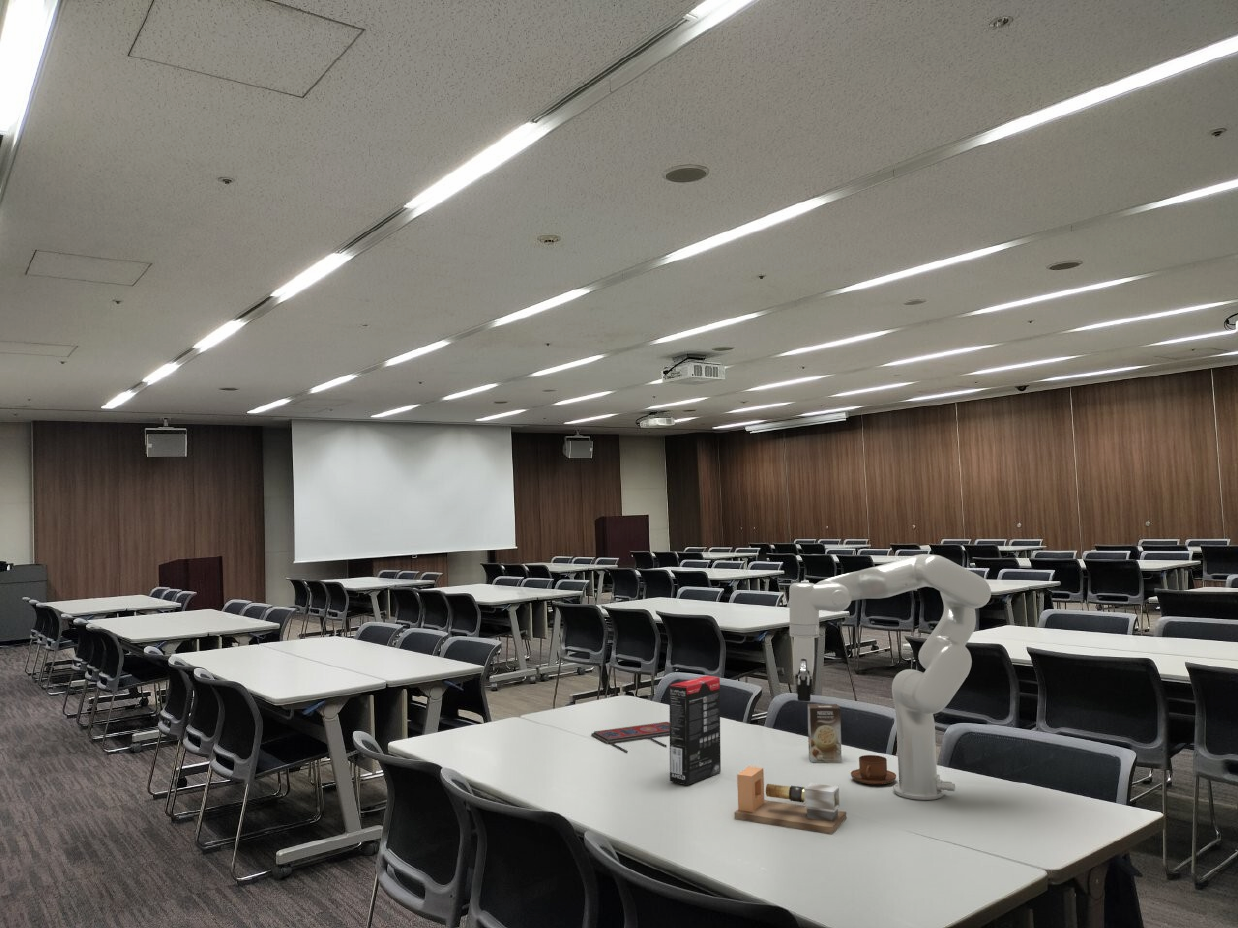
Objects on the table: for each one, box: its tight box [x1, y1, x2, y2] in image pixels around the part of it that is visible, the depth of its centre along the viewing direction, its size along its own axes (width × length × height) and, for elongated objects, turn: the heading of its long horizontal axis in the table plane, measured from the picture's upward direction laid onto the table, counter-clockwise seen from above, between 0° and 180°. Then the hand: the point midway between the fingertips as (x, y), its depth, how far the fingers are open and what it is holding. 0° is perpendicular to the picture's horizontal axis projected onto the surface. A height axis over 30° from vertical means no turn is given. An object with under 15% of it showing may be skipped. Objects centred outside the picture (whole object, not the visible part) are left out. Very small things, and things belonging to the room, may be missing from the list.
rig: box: [733, 782, 847, 835], centre depth 210 cm, size 24×12×8 cm, turn 60°
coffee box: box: [807, 703, 843, 764], centre depth 261 cm, size 9×6×16 cm
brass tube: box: [765, 783, 836, 806], centre depth 209 cm, size 16×4×4 cm, turn 60°
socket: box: [736, 765, 765, 812], centre depth 215 cm, size 4×8×8 cm, turn 150°
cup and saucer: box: [850, 754, 897, 786], centre depth 238 cm, size 12×12×6 cm
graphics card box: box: [668, 675, 722, 786], centre depth 246 cm, size 17×7×27 cm, turn 141°
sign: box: [590, 721, 670, 753], centre depth 291 cm, size 27×2×30 cm
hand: (805, 697), depth 225 cm, fingers open, 9 cm apart
